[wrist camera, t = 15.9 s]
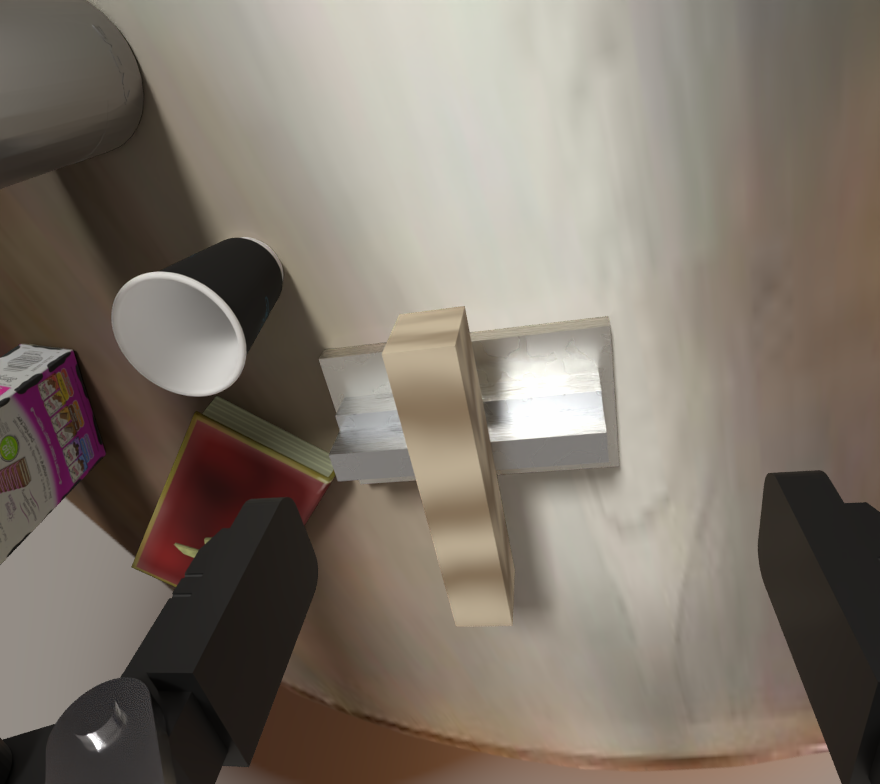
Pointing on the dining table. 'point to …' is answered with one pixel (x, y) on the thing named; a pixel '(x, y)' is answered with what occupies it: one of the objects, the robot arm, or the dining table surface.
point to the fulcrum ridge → (490, 402)
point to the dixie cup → (198, 316)
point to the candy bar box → (41, 437)
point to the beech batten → (453, 461)
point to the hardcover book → (226, 484)
